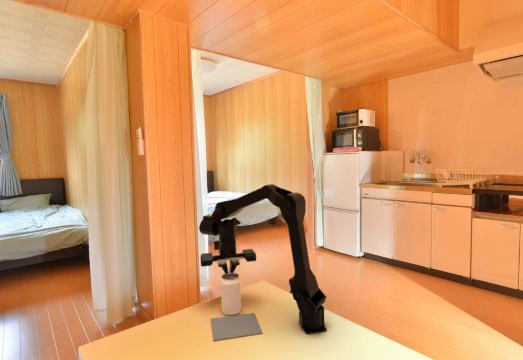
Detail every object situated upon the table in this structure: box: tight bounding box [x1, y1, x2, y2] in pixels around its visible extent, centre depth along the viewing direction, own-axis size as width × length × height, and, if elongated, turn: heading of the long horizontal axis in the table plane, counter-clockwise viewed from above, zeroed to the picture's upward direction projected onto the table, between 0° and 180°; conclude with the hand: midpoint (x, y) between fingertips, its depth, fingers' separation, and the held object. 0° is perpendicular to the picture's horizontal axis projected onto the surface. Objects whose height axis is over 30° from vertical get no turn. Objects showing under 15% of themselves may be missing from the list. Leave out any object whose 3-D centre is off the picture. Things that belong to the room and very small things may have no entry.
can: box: [220, 272, 242, 316], centre depth 102 cm, size 6×6×12 cm
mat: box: [210, 312, 264, 342], centre depth 93 cm, size 14×12×1 cm
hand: (229, 281), depth 107 cm, fingers closed
